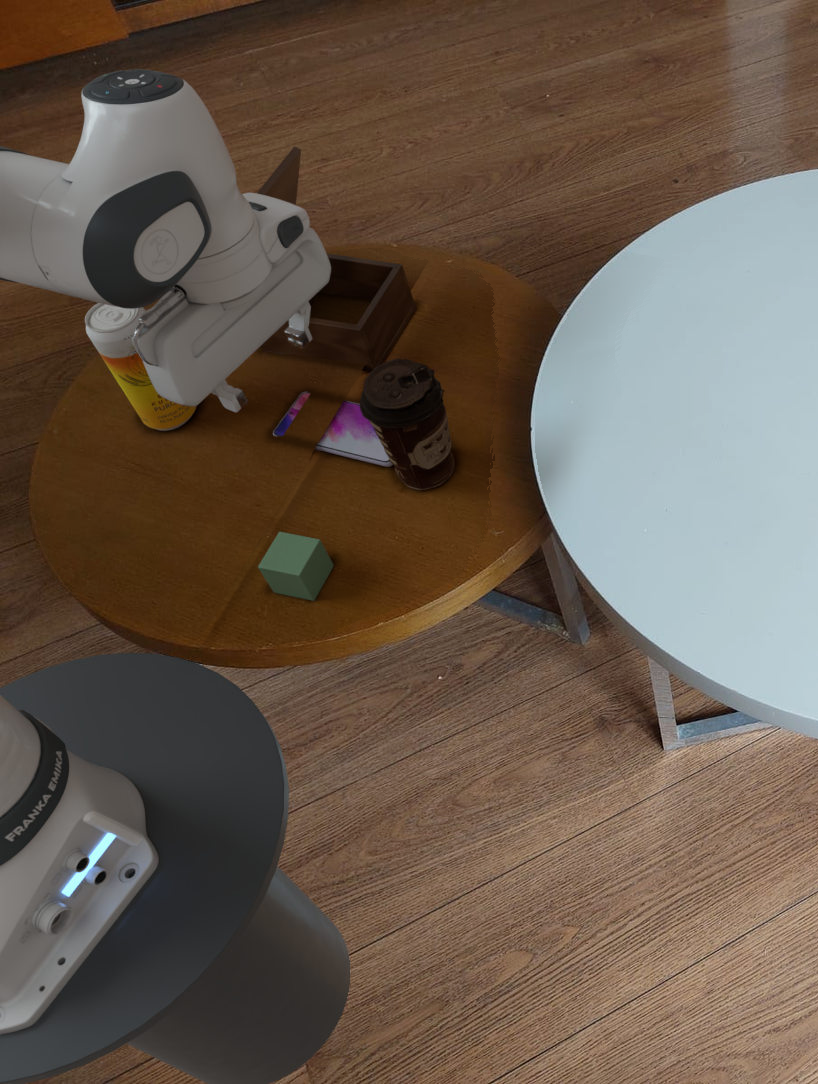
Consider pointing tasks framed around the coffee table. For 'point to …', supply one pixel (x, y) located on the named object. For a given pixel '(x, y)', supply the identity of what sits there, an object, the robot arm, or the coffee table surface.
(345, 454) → the purple white flat pieces
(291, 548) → the block
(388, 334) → the chest
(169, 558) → the coffee table surface
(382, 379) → the coffee cup
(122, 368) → the beer can
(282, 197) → the lid
